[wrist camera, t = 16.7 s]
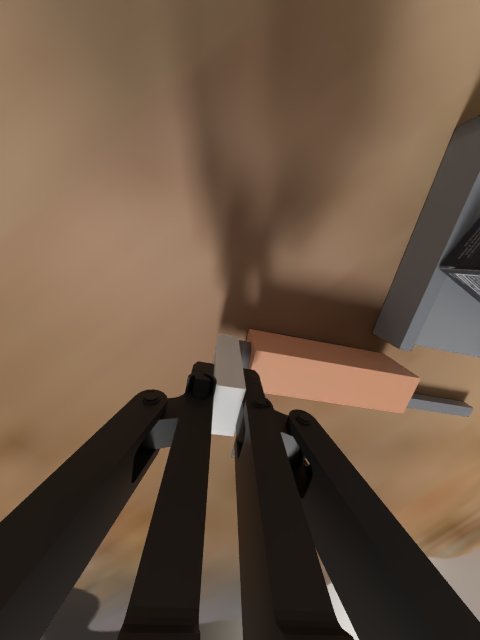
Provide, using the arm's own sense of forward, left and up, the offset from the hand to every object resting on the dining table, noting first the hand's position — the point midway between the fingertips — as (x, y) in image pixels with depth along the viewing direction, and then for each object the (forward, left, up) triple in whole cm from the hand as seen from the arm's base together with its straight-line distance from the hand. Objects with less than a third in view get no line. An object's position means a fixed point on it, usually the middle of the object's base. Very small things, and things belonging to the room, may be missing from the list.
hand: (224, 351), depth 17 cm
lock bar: (+8, 0, -2) cm, 8 cm away
